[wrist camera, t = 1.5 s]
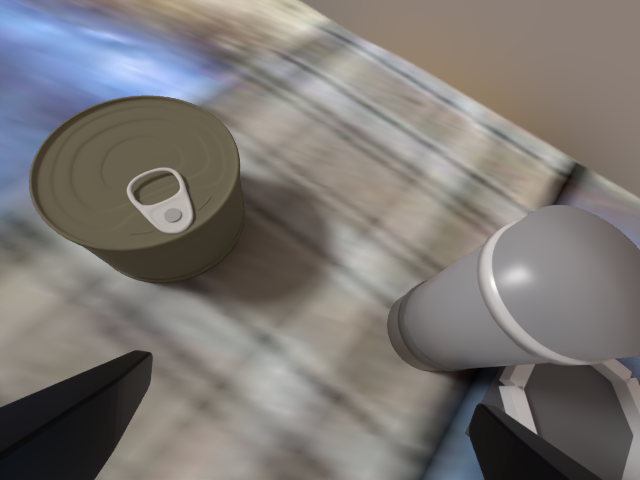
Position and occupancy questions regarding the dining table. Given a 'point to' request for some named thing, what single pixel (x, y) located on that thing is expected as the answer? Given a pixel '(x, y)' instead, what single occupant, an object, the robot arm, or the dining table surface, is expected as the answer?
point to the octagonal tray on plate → (577, 411)
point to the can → (143, 186)
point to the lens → (527, 298)
